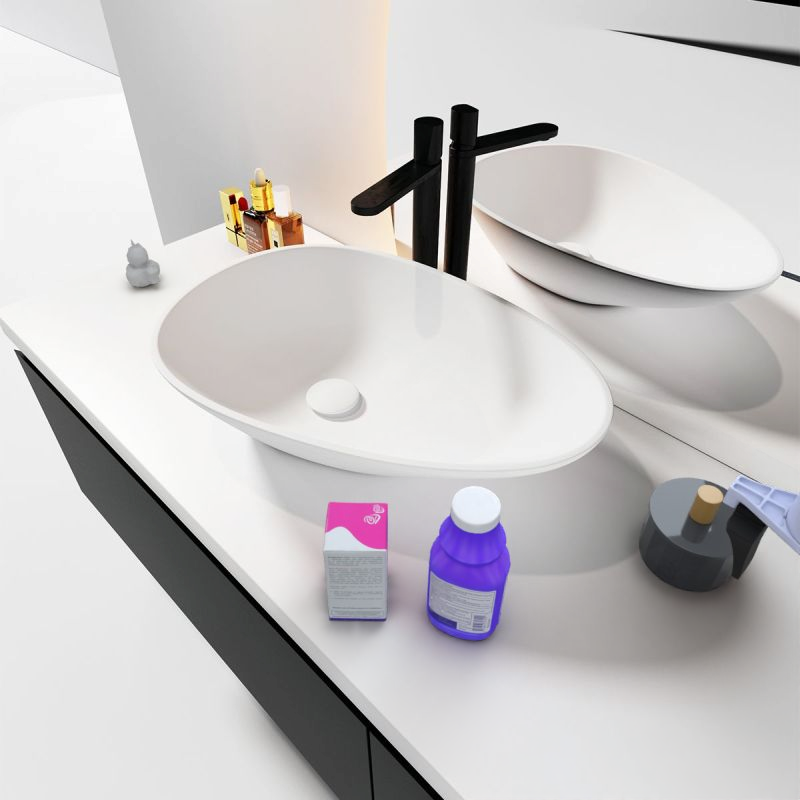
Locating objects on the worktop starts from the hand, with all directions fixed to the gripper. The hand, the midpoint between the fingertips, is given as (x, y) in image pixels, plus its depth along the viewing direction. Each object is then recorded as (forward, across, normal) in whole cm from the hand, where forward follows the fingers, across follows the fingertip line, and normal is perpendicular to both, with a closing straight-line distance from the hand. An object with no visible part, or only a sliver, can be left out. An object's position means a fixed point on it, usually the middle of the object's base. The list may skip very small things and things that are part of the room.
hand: (783, 597), depth 59 cm
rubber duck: (+10, +98, +6) cm, 98 cm away
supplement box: (+10, +30, +21) cm, 38 cm away
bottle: (+10, +22, +16) cm, 28 cm away
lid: (+4, +10, -6) cm, 12 cm away
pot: (+10, +10, -6) cm, 15 cm away
